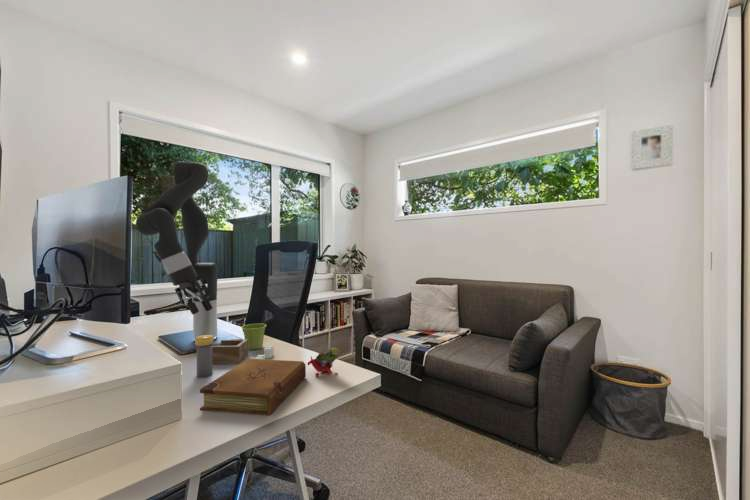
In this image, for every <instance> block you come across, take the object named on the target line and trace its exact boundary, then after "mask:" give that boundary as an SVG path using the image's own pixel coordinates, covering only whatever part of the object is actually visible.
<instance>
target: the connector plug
mask: <svg viewBox="0 0 750 500" xmlns="http://www.w3.org/2000/svg"><path fill="white" fill-rule="evenodd" d="M214 341H215V340H214V337H213V335H202V336H198V337H195V342H194V345H195V346H196V378H198V379H202V378H203V379H204V378H208V377H211V376H213V364H212V346H213V344H214Z"/></svg>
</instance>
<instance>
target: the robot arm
mask: <svg viewBox="0 0 750 500" xmlns="http://www.w3.org/2000/svg"><path fill="white" fill-rule="evenodd" d="M172 170H173V180H174V184H175V185H173V186H171V187H169V188H167V189H166V190H164V191H163V192H162V193H161V194H160V196H159V197H157V199H156V200H155V202H154V203H153V204H152V205H150V206H148V207H147V208H146V209H145V210H143V211H142V212H141V213H140V214H139V215H138V217H137V219H136V221H135V226H136V227H135V228H136V229H137V231H138V232H139V233H140V234H143V235H144V236H155V235H156V234H158V235H159V239H158V240H157V241H155V243H154V249H155V251H156V253H157V256H158V257H159V260H160V261H161V263H162V266H163V268H164V270H165V271H166V274H167V276H168V277H169V278H168V279H170V281H171V283H172V285H173V286H174V287H175V286H178V287H176V288H174V291H175V294H176V295H177V297H178V300H179V301H180V303H181V305H185V306H187V307H188V310H189V311H190V313H191V315H192V316H193V318H192V322H193V323H192V325H193V326H192V328H193V329H192V330H193V333H192V335H193V337H194V338H195V337H198V336H202V335H213V337H215V336H217V337H218V298H217V296H218V277H219V276H218V274H219V273H218V270H219V269H218V266H217V264H216V263H215V262H199V261H198V260H199V259H198V258H199V253H200V251H201V249H202V247H203V246H204V244H205V242H206V241H207V239H208V236H209V233H210V230H209V221H208V217H207V215H206V213H205V212H204V210H203V209H202V208H201V206H200V205H199V204H198V203H197V201H196V200H195V198H194V196H193V195H195V194H197V192H198V191H199V190H201V189H202V188H203V187H204V186H205V185H206V184H207V183H208V179H209V170H208V167H207V166H206V164H204V163H203V162H197V161H196V162H195V161H193V162H192V161H176V162H175V164H174V165H173V169H172ZM179 210H180V213H181V222H182V223H181V224H182V229H183V236H184V241H185V248H186V249H185V250H186V252H185V250H184V248H183V247H182V245H181V243H180V240H179V238H178V237H179V236H178V232H177V228H176V223H175V218H174V216H175V215H177V213H178V212H179ZM206 285H207V286H206Z"/></svg>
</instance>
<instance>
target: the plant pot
mask: <svg viewBox="0 0 750 500" xmlns="http://www.w3.org/2000/svg"><path fill="white" fill-rule="evenodd" d="M266 327H267V323H249V324H245V325H242V326H241V327H240V328H241V329H242V332H243V336H244V339H248V351H252V350H253V351H254V350H259V349H262V348H263V345H264V337H265V331H266Z"/></svg>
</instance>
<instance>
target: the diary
mask: <svg viewBox="0 0 750 500" xmlns="http://www.w3.org/2000/svg"><path fill="white" fill-rule="evenodd" d="M306 367H307V366H306V363H305V362H304V361H301V360H299V361H298V360H284V359H283V360H281V359H280V360H279V359H267V358H265V359H255V358H247V359H246V360H243V361H242V362H241V363H240V364H237V366H234V367H233V368H231V369H229V370H228V371H227V372H225V373H224V374H222V375H220V376H219V377H217V378H215V379H214V380H213V381H211V382H209V383H208V384H206V385H205V386H203V387H201V388H200V389H199V394H203V405H202V406H201V407H200V408H199V410H200V411H207V412H219V413H220V412H222V413H230V414H231V413H232V414H244V415H255V416H256V415H258V416H270V415H271V414H272V413H273V412H274V411H275V410H276V409H277V408H278V407H279V406H280V405H281V404H282V403H283V402H284V401H285V399H286V398H287V397H289V395H290V394H291V393H293V391H294V390H295V389H296V388H297V386H298V385H300V383H301V382H302V381H303V380H304V379H305V378H307V377H306V375H307V373H306V371H307V370H306Z"/></svg>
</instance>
